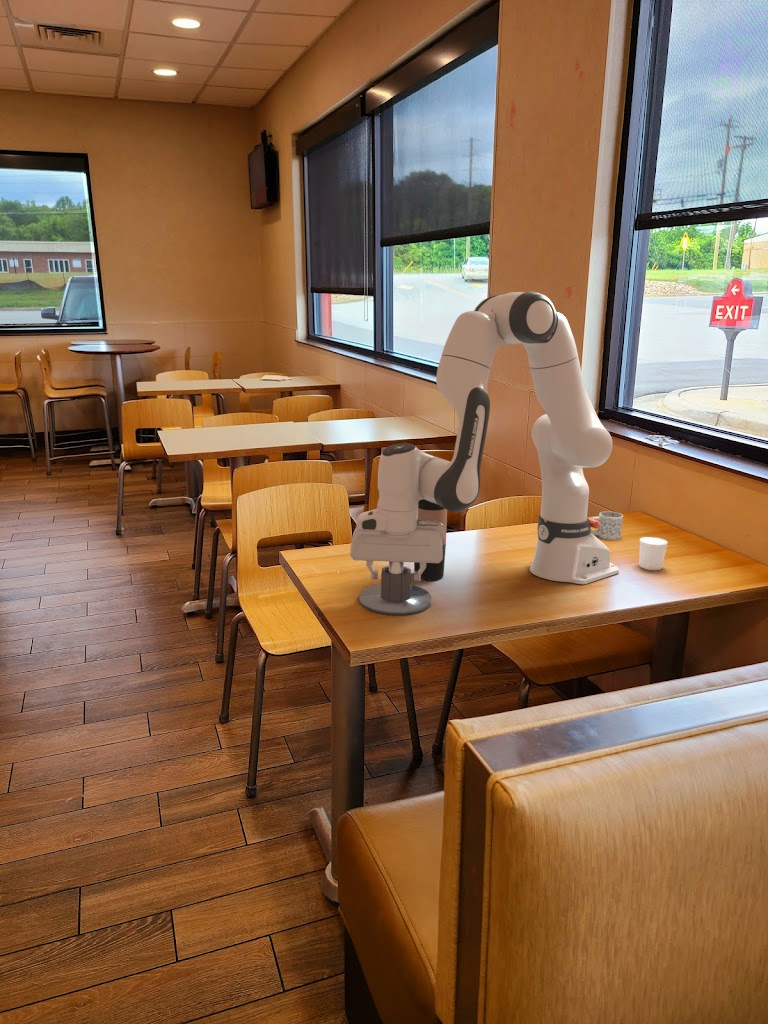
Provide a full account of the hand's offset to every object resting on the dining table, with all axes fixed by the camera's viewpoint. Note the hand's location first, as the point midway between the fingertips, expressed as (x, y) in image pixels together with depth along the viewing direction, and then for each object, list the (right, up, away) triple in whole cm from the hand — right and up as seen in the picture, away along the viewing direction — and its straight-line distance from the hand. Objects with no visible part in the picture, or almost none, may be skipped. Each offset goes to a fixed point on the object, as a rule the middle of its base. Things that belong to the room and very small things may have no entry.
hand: (395, 579), depth 167 cm
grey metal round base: (0, -5, +1) cm, 5 cm away
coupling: (0, -4, +1) cm, 4 cm away
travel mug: (+8, -1, +17) cm, 19 cm away
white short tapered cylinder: (+66, +1, +28) cm, 71 cm away
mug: (+61, +8, +52) cm, 80 cm away
